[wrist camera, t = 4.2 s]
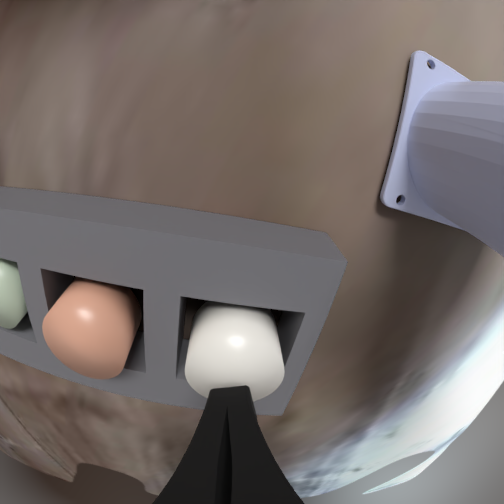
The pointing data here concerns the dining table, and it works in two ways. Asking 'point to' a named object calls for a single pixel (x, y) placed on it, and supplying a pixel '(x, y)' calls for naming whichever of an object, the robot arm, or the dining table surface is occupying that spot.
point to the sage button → (11, 295)
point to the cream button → (234, 349)
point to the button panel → (164, 282)
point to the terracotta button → (93, 327)
